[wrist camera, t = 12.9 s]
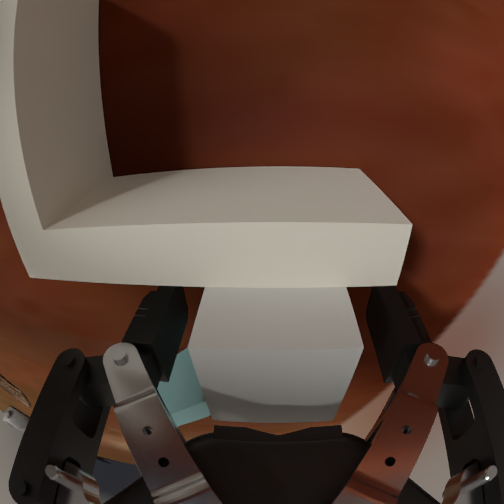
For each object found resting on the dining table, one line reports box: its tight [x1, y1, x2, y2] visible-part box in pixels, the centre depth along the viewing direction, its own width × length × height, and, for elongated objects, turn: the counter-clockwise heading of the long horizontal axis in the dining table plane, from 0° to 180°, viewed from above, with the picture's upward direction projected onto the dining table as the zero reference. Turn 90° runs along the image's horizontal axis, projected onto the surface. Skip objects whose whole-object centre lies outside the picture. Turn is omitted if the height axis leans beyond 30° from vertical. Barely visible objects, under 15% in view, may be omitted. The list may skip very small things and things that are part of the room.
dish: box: [3, 407, 30, 431], centre depth 42 cm, size 14×14×5 cm
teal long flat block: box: [157, 348, 211, 426], centre depth 15 cm, size 13×2×5 cm, turn 136°
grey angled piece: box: [0, 0, 412, 427], centre depth 12 cm, size 28×13×5 cm, turn 2°
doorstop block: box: [188, 287, 364, 423], centre depth 10 cm, size 4×4×7 cm
